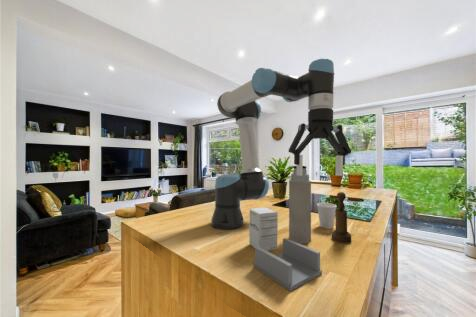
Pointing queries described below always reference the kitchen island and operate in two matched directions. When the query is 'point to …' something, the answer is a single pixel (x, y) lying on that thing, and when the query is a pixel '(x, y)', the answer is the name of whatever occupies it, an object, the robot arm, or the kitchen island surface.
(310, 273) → the holder
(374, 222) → the kitchen island surface
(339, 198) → the brown wooden turned piece
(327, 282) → the kitchen island surface
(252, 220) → the supplement box
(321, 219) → the dixie cup
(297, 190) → the thermos bottle
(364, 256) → the kitchen island surface
